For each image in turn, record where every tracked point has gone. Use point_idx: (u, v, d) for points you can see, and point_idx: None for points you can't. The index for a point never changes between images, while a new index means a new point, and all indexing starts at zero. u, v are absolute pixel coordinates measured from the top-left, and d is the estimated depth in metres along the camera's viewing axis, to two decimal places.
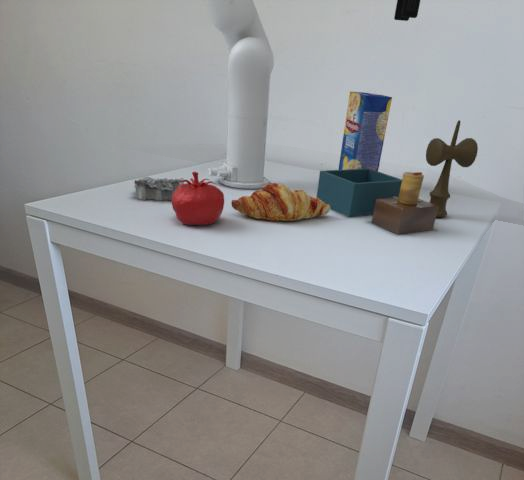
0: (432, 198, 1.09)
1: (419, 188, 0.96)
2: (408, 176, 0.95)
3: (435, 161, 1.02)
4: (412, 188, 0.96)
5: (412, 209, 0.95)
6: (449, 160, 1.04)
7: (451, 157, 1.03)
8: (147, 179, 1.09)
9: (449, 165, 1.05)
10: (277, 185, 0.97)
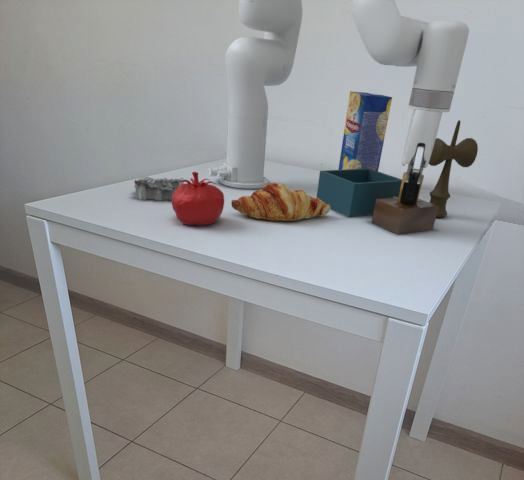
0: (432, 198, 1.09)
1: None
2: None
3: (435, 161, 1.02)
4: None
5: (412, 209, 0.95)
6: (449, 160, 1.04)
7: (451, 157, 1.03)
8: (147, 179, 1.09)
9: (449, 165, 1.05)
10: (277, 185, 0.97)
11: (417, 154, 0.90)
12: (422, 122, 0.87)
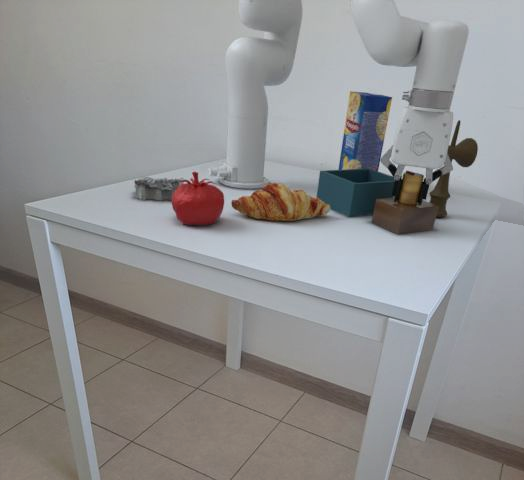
0: (432, 198, 1.09)
1: None
2: (422, 177, 0.95)
3: None
4: None
5: (412, 209, 0.95)
6: None
7: (451, 157, 1.03)
8: (147, 179, 1.09)
9: None
10: (277, 185, 0.97)
11: None
12: (452, 123, 0.90)
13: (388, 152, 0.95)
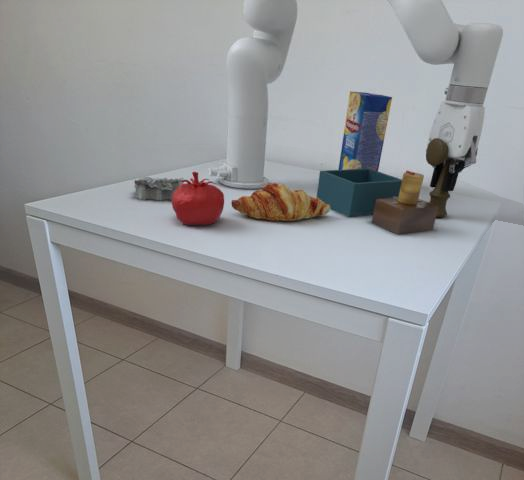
0: (432, 198, 1.08)
1: None
2: (422, 177, 0.95)
3: (435, 160, 1.02)
4: None
5: (412, 209, 0.95)
6: (449, 160, 1.04)
7: None
8: (147, 179, 1.09)
9: (449, 165, 1.05)
10: (277, 185, 0.97)
11: (471, 147, 0.99)
12: (477, 117, 0.96)
13: None
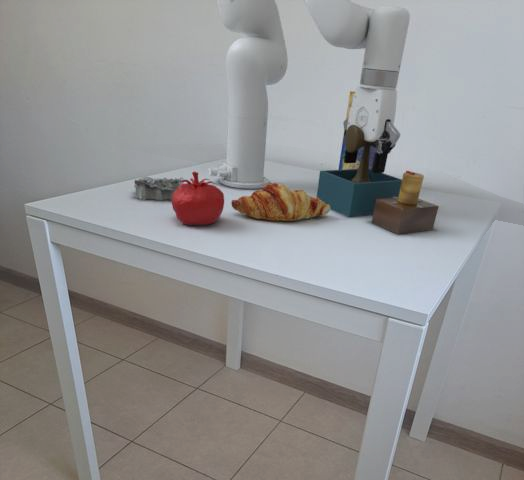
0: None
1: None
2: (422, 177, 0.95)
3: (352, 147, 1.03)
4: None
5: (412, 209, 0.95)
6: (367, 147, 1.05)
7: (368, 144, 1.04)
8: (147, 178, 1.09)
9: (368, 152, 1.06)
10: (277, 185, 0.97)
11: (389, 124, 0.99)
12: (388, 100, 0.97)
13: None
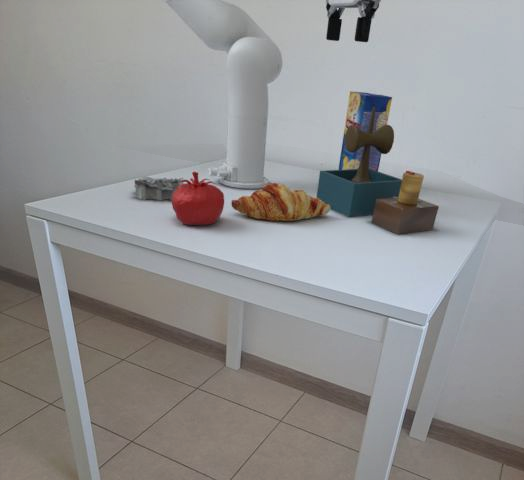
0: None
1: None
2: (422, 177, 0.95)
3: (352, 147, 1.03)
4: None
5: (412, 209, 0.95)
6: (367, 147, 1.05)
7: (368, 144, 1.04)
8: (147, 178, 1.09)
9: (368, 152, 1.06)
10: (277, 185, 0.97)
11: None
12: None
13: None
